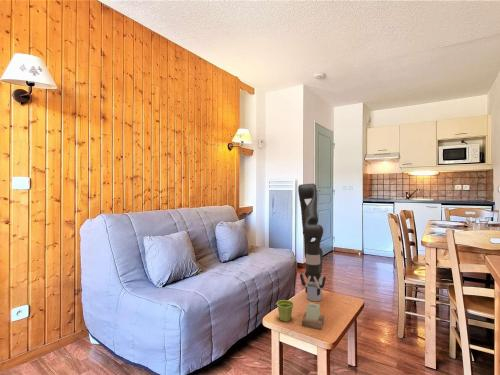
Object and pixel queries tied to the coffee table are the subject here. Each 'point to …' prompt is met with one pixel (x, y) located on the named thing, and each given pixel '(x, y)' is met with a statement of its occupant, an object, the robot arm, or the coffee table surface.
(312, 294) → the slate block
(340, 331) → the coffee table surface
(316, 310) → the sage block
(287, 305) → the plant pot
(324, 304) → the coffee table surface
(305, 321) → the walnut square pad
